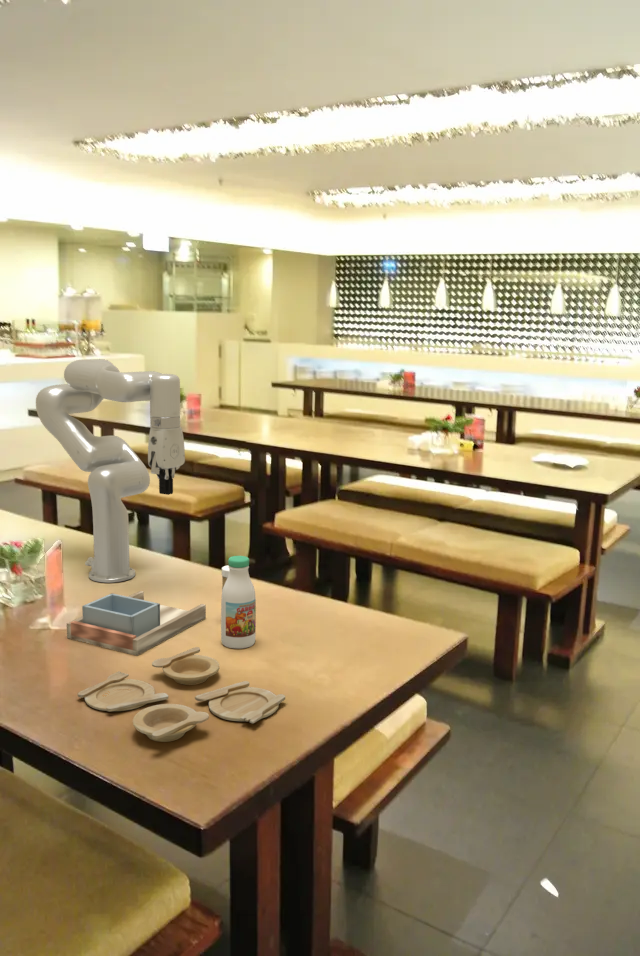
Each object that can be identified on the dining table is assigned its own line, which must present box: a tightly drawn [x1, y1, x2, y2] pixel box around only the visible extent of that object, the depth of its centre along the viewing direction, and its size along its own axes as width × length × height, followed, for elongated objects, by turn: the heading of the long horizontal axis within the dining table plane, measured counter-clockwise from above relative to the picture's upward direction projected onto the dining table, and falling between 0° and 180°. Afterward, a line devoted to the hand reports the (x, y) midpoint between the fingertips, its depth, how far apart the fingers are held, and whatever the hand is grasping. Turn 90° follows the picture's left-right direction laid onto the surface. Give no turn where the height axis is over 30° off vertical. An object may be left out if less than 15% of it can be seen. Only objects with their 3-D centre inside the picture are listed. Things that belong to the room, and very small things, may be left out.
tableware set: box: [77, 646, 286, 743], centre depth 158 cm, size 35×29×4 cm
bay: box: [66, 590, 207, 657], centre depth 195 cm, size 20×26×4 cm
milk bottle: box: [220, 555, 257, 650], centre depth 186 cm, size 8×8×20 cm
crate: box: [81, 593, 161, 638], centre depth 189 cm, size 14×10×6 cm
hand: (166, 493), depth 214 cm, fingers closed
